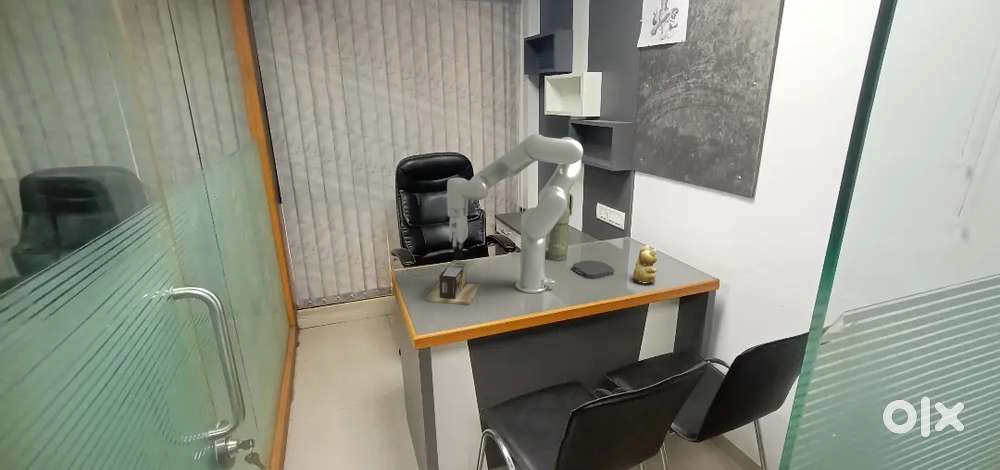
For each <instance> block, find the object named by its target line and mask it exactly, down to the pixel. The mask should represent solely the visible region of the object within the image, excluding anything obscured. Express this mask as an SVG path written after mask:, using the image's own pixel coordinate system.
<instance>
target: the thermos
mask: <svg viewBox="0 0 1000 470" xmlns="http://www.w3.org/2000/svg"><path fill="white" fill-rule="evenodd" d="M570 192H571V190H570V191H569V193H568V194H567V196H566V198H567V207H566V210H565V212H564V213H563V215H562V216H561V218H560V219H559V221H558V222H557V223H556V225H555V226H554V227H553V229H552V230H551V231H550V233H549V242H548V243H547V245H548V246H547V247H548V248H547V253H548V254H547V259H548V258H549V261H550V260H551V261H552V260H553V262H564V260H565V261H566V260H567V258H568V257H567V256H568V250H569V249H568V247H569V245H568V230H569V229H568V227H569V223H570V218H571V216H572V215H573V207H574V205H573V204H574V195H572V193H570Z"/></svg>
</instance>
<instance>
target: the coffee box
mask: <svg viewBox="0 0 1000 470" xmlns="http://www.w3.org/2000/svg"><path fill="white" fill-rule="evenodd" d="M468 266H469V263H468V261H467V260H455V259H453V260H452V261H451V262H450V263H449V264H448V266H447V267H446V268H445V269H444V270H443V271H442V272H441V273H440V274H439V280H438V281H439V282H438V283H439V286H440V298H447V299H450V298H452V299H456V298H457V296H458V295H459V293H460V292H461V291H462V289H463V288H464V286H465V285H466V284H468V283H469V282H468V280H469V277H468V276H469V275H468V273H469V267H468Z"/></svg>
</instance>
